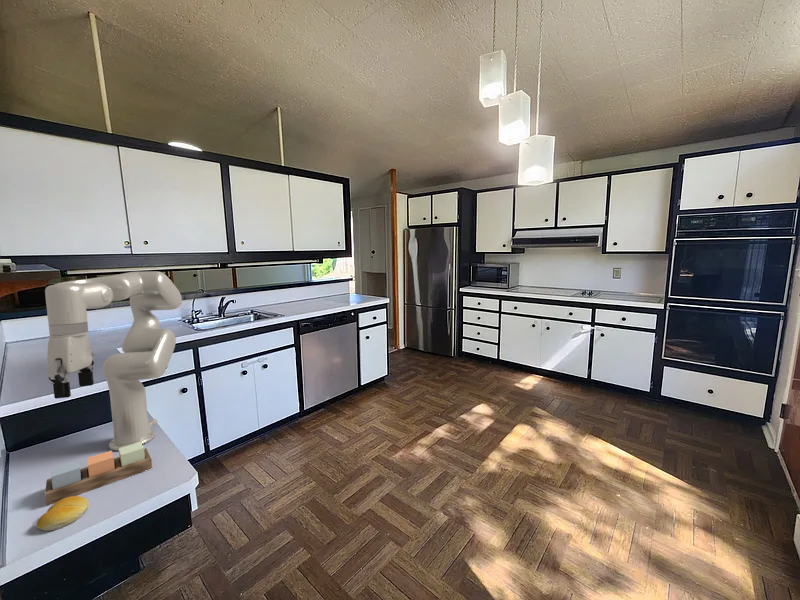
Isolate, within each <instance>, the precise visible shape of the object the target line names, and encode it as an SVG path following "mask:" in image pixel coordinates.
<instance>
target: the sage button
mask: <svg viewBox="0 0 800 600" xmlns="http://www.w3.org/2000/svg"><path fill="white" fill-rule="evenodd" d="M144 449H145V447H144V444H143V445H142V442H138V443H135V444H131V445H128V446H125V447H121V448H119V450H118V453H119V455H118V457H120V463H121V466H122V467H123V466H126V465H129V464H132V463H135V462H138V461H141V460H144V459H145V453H144Z"/></svg>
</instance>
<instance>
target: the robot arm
mask: <svg viewBox="0 0 800 600" xmlns="http://www.w3.org/2000/svg"><path fill="white" fill-rule="evenodd" d="M44 293H45V294H44V295H45V304H46V312H47V314H46V315H47V323H48V331H49V338H48V344H47V369H46V370H45V373H46V375H47V376H48V380H49V381H50V383H51V385H52V386H53V397H54V399H57V400H58V399H66V398H67V399H68V398H70V397H72V393H71V384H70V381H68V380H69V377H70V375H71V374H74V373H77V372H78V373H77V375H78V376H77V377H78V385H79V387H89V386H93V385H94V384H95V383H94V382H95V381H94V373H93V372H94V368H95V367H93V366H94V364H95V361H94V360H95V354H94V353H92V347H91V342H90V337H89V335H88V334H90V333H89V326H88V312H87V309H88V310H89V309H90V310H91V309H101V308H104V307H107V306H109V305H110V304H111V303H112V302H119V301H123V300H126V299H129V305H130V309H131V313H132V317H133V322H132V324H131V326H130V328H129V329H128V332H126V335H125V337H124V339H123V341H122V343H121V350H122V352H121V353H115V354H112V355H110V356H109V357H107V358H106V359H105V361H104V363H103V365H102V371H103V375H104V378H105V381H106V382H107V383H106V384H107V387H108V390H109V391H108V392H109V399H110V410H111V417H112V427H113V428H112V429H113V437H114V438H113V439H112V440H111V441H110V442H109V443H108V448H109V450H110V451H111V450H112V451H119V448H121V447H125V446H128V445H131V444H135V443H138V442H142V444H143V445H145V444H146V443H145V442H147V441H149V440H151V439H152V438H153V437H154V438H155V436H156V434H155V433H156V432H155V430H152V429H151V428H152V427H153V426H154V425H156V424H157V423H158V419H156V418H153V419H152V420H150V421H149V415H148V404H147V394H146V393H147V392H146V388H145V386H144V384H143V383H142V382H141V381H142V380H143V381H144V380H153V379H158V378H160V377H162V376H163V375H164V374H165V372H166V371H167V367H168V365H169V363H170V361H171V358H172V355H173V354H174V351H175V347H176V336H175V335H176V334H175V333H174V332H173V330H171V329H169V328H160V327H161V322H160V320H159V318H158V317H157V316H156V315H154V314H153V313H152V311H172V310H176V309H178V308H180V306H181V305H182V301H183V299H182V294H181V292H180V291H179V289H178V287H177V286H176V285H175V284H174V283H173V281H172V280H171V279H170V278H169V276H167V275H166V274H165V273H163V272H162V271H158V270H157V271H155V270H154V271H152V270H151V271H150V270H149V271H129V272H124V273H120V274H119V273H118V274H113V275H107V276H106V275H105V276H99V277H91V278H83V279H77V280H68V281H62V282H58V283H54V284H50V285H48V286H46V287H45V290H44ZM140 380H141V381H140ZM154 435H155V436H154ZM154 438H153V439H154ZM153 439H152V440H153ZM152 440H151V441H152ZM149 442H150V441H149ZM144 443H145V444H144ZM147 443H148V442H147Z"/></svg>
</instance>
